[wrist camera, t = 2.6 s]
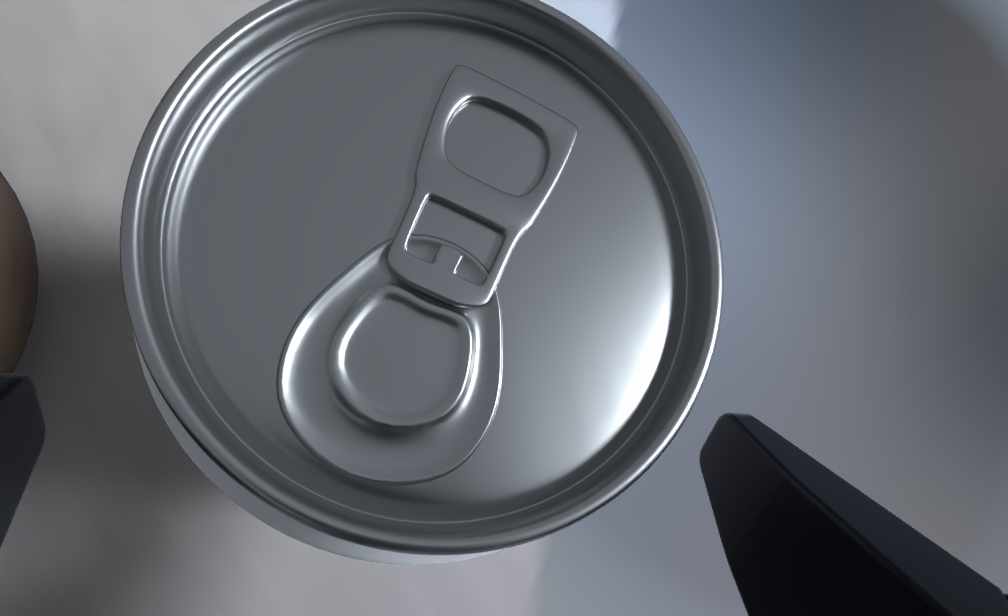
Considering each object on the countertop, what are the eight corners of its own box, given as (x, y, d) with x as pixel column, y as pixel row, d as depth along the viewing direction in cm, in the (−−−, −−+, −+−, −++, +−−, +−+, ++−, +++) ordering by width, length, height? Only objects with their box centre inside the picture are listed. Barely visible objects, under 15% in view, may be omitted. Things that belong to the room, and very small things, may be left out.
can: (213, 431, 15) (-152, 438, 4) (322, 221, 17) (289, -185, 6) (439, 517, 16) (665, 717, 5) (519, 311, 18) (815, 117, 7)
